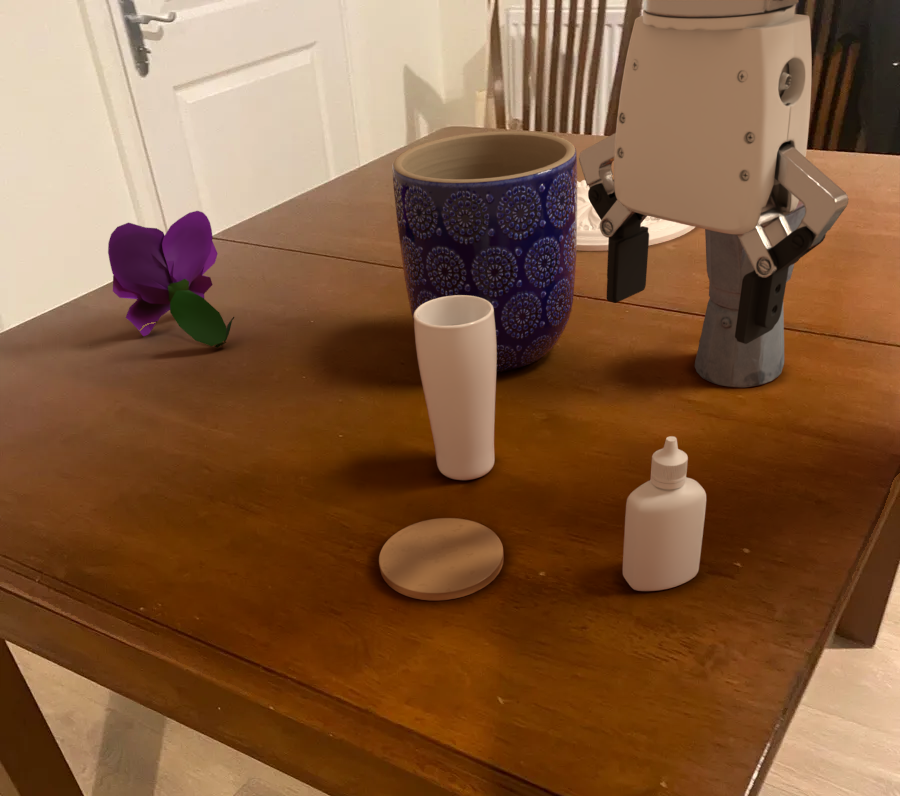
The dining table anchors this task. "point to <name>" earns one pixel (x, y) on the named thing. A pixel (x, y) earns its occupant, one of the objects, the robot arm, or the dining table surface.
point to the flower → (168, 276)
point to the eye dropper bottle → (664, 524)
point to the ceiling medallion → (596, 241)
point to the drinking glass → (459, 381)
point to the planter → (493, 231)
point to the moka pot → (718, 345)
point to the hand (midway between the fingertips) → (687, 314)
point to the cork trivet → (441, 559)
